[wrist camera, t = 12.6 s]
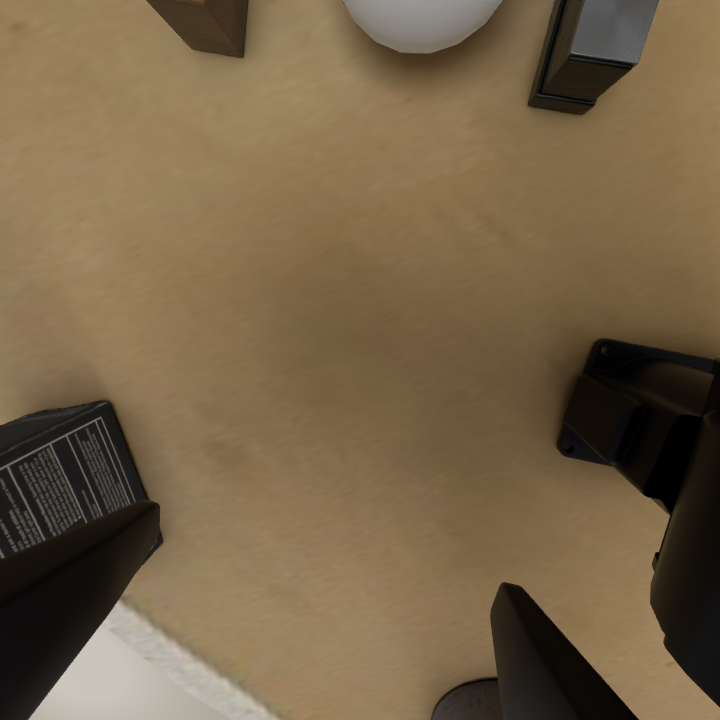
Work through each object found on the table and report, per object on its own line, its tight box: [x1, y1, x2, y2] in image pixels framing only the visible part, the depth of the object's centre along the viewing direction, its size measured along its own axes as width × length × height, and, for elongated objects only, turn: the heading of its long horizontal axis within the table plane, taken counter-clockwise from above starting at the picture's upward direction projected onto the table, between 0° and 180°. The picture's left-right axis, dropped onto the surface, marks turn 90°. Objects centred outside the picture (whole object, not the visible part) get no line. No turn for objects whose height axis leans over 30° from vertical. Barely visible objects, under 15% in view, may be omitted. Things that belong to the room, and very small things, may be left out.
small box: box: [0, 401, 163, 574], centre depth 18 cm, size 11×6×10 cm, turn 11°
